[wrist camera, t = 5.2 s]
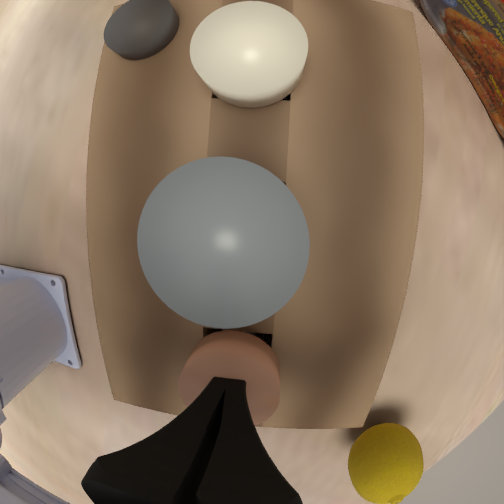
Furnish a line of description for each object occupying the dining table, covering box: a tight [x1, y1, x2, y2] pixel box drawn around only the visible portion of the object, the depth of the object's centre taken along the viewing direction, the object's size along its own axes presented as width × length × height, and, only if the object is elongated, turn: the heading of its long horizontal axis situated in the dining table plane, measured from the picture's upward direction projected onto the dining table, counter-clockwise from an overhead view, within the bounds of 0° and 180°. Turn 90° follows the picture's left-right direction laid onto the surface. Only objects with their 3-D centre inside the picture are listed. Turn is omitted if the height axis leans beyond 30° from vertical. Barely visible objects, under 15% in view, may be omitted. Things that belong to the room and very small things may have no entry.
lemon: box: [348, 423, 423, 504], centre depth 15 cm, size 6×6×8 cm
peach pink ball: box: [178, 330, 280, 426], centre depth 14 cm, size 4×4×5 cm
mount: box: [86, 0, 424, 429], centre depth 14 cm, size 16×24×5 cm, turn 177°
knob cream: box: [190, 1, 308, 108], centre depth 11 cm, size 4×4×5 cm
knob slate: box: [137, 156, 310, 329], centre depth 10 cm, size 4×4×5 cm
